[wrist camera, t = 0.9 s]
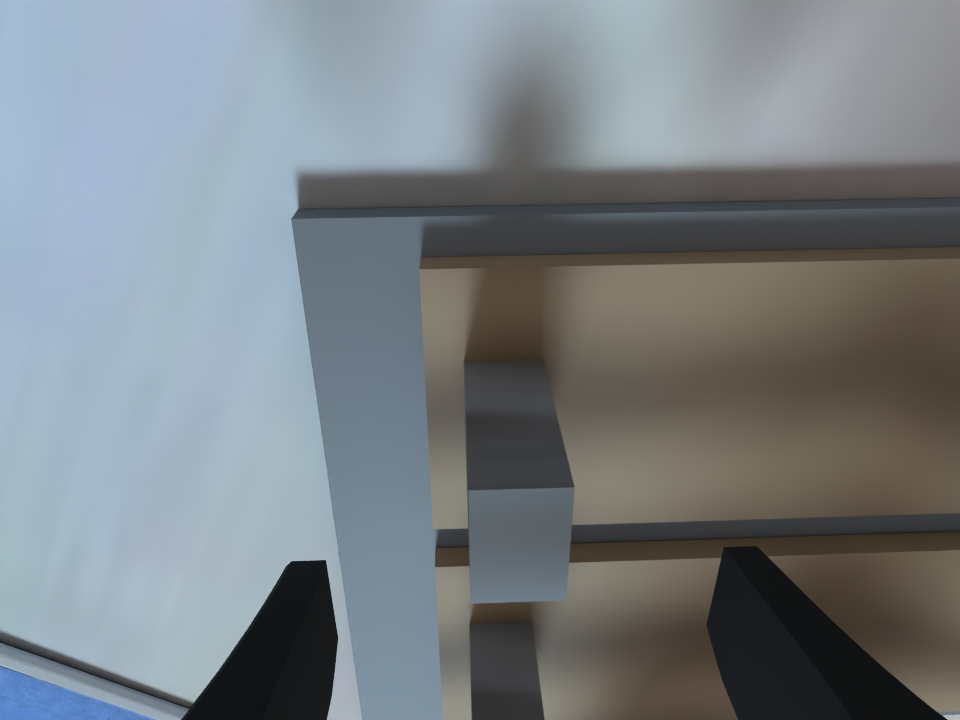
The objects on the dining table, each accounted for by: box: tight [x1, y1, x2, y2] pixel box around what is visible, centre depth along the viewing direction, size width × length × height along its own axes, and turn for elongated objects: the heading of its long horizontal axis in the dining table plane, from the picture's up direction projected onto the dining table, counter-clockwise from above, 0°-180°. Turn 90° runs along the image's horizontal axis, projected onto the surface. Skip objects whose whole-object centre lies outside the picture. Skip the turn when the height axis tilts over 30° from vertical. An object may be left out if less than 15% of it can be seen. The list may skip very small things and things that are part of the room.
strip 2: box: [435, 531, 960, 720], centre depth 21 cm, size 8×28×6 cm, turn 90°
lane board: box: [291, 198, 960, 720], centre depth 22 cm, size 20×34×1 cm, turn 90°
